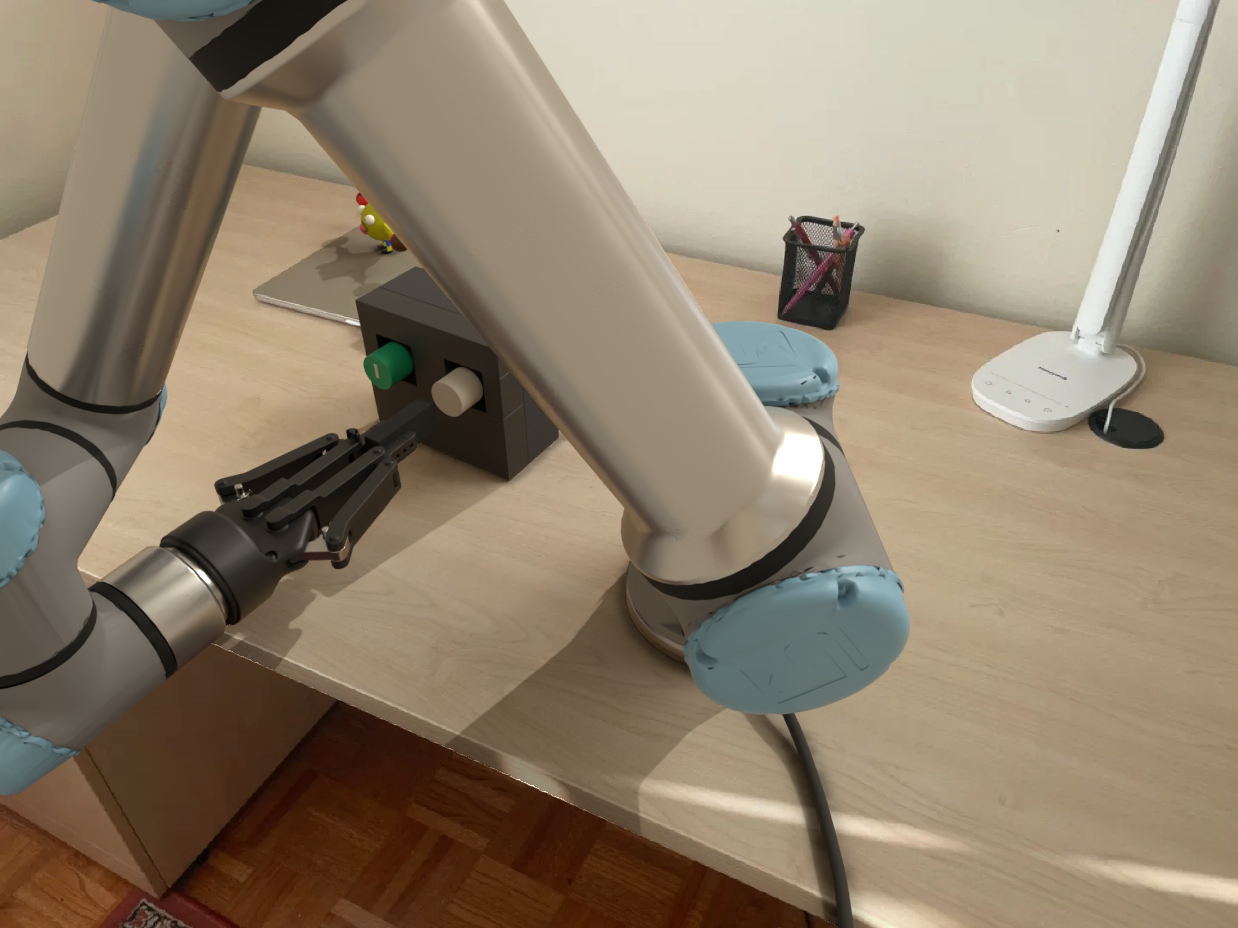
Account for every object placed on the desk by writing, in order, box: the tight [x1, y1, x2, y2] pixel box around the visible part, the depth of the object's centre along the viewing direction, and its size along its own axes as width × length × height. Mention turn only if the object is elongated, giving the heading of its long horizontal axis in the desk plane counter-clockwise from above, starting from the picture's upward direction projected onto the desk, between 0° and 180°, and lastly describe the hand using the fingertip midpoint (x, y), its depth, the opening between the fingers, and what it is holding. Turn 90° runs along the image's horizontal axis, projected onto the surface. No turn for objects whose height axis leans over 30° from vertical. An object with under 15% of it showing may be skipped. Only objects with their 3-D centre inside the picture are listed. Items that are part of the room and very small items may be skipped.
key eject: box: [432, 367, 483, 417], centre depth 79 cm, size 3×3×3 cm
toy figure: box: [355, 191, 408, 254], centre depth 119 cm, size 18×6×7 cm, turn 28°
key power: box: [362, 342, 414, 389], centre depth 82 cm, size 3×3×3 cm
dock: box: [354, 265, 560, 482], centre depth 85 cm, size 8×16×14 cm, turn 58°
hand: (428, 413), depth 76 cm, fingers closed
